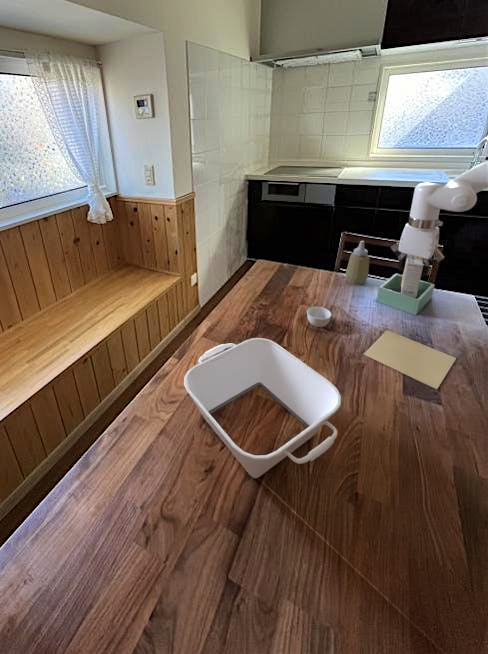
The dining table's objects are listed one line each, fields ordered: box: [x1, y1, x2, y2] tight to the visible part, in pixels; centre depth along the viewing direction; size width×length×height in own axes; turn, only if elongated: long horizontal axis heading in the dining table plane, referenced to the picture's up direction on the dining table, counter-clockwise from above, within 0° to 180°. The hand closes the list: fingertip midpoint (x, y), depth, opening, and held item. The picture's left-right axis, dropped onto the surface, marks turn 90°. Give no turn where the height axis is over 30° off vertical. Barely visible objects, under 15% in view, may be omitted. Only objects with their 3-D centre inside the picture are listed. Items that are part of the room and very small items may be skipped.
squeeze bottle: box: [345, 240, 370, 286], centre depth 130 cm, size 8×8×18 cm
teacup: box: [306, 306, 332, 328], centre depth 110 cm, size 10×10×5 cm
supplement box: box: [400, 254, 424, 298], centre depth 116 cm, size 8×5×13 cm, turn 149°
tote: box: [375, 272, 435, 316], centre depth 119 cm, size 13×15×6 cm
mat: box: [363, 329, 457, 390], centre depth 94 cm, size 18×16×1 cm
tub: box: [183, 337, 342, 479], centre depth 75 cm, size 34×27×13 cm
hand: (412, 271), depth 115 cm, fingers closed on supplement box, 6 cm apart
